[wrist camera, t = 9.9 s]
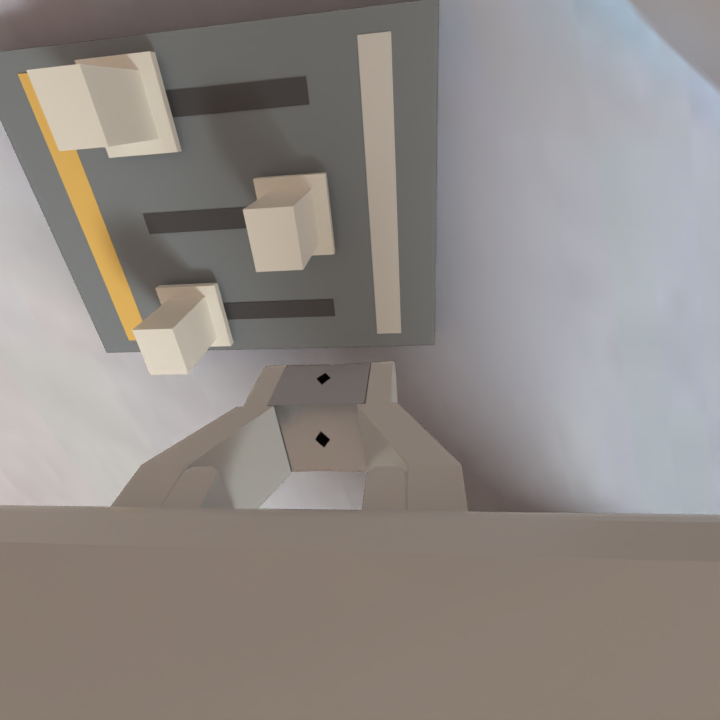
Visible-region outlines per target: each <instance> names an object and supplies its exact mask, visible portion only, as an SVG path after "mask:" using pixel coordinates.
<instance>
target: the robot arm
mask: <svg viewBox="0 0 720 720" xmlns="http://www.w3.org/2000/svg"><path fill="white" fill-rule="evenodd" d="M300 471H357V472H367V476H366V483H365V490H364V498H363V505H362V510H328V509H258V508H259V507H260V506H261V505H262V504H263V503H264V502H265V501H266V500H267V499H268V498H269V497H270V496H271V494H272V493H273V492H274V491H275V490H276V489H277V488H278V487H279V486H280V485H281V484H282V483H283V482H284V481H285V480H286V479H287V478H288V477H289V476H290V475H291V472H300ZM0 720H720V515H703V514H628V513H545V512H470V511H468V506H467V499H466V492H465V484H464V477H463V470H462V465H461V464H460V463H459V462H458V461H457V460H456V459H455V458H454V457H453V456H452V455H451V454H450V453H449V452H448V451H447V450H446V449H445V448H444V447H443V446H442V445H441V444H440V443H439V442H438V441H437V440H435V439H434V438H433V437H432V436H431V435H430V434H429V433H428V432H427V431H426V430H425V429H424V428H423V427H422V426H421V425H420V424H419V423H418V422H417V421H416V420H415V419H414V418H413V417H412V416H411V415H410V414H409V413H408V412H407V411H406V410H405V409H404V408H403V407H401V406H400V405H399V404H398V398H397V383H396V369H395V363H394V361H386V362H373V363H355V364H338V365H289V366H287V365H277V366H267V367H265V368H264V369H263V371H262V373H261V375H260V377H259V378H258V380H257V382H256V384H255V386H254V388H253V389H252V391H251V393H250V395H249V397H248V398H247V400H246V402H245V404H244V406H243V407H236V408H234V409H232V410H231V411H229V412H227V413H226V414H224V415H222V416H221V417H219V418H218V419H216V420H214V421H213V422H211V423H209V424H208V425H206V426H204V427H203V428H201V429H200V430H198V431H196V432H195V433H193V434H191V435H190V436H188V437H186V438H185V439H183V440H181V441H180V442H178V443H177V444H175V445H173V446H172V447H170V448H168V449H167V450H165V451H163V452H162V453H160V454H159V455H157V456H155V457H154V458H152V459H150V460H149V461H147V462H145V463H144V464H142V465H141V466H140V468H139V469H138V470H137V472H136V473H135V474H134V476H133V477H132V478H131V480H130V481H129V482H128V484H127V485H126V486H125V488H124V489H123V491H122V492H121V493H120V495H119V496H118V497H117V499H116V500H115V501H114V503H113V504H112V505H111V507H97V506H25V505H0Z"/></svg>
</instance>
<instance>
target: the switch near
mask: <svg viewBox="0 0 720 720" xmlns="http://www.w3.org/2000/svg"><path fill="white" fill-rule="evenodd" d="M75 63H76V64H74V65H66V66H57V67H48V68H40V69H31V70H26V71H27V73H28V76H29V78H30V81H31V83H32V86H33V88H34V91H35V93H36V96H37V98H38V100H39V103H40V105H41V108H42V110H43V113H44V115H45V118H46V120H47V123H48V125H49V127H50V130H51V132H52V135H53V137H54V140H55V142H56V145H57V147H58V150H59V151H67V150H78V149H90V148H101V147H105V148H106V151H107V153H108V156H109V158H115V157H126V156H138V155H150V154H162V153H173V152H180V151H182V150H181V146H180V143H179V139H178V135H177V132H176V128H175V124H174V121H173V117H172V113H171V110H170V106H169V102H168V98H167V95H166V91H165V87H164V84H163V80H162V76H161V73H160V69H159V65H158V62H157V58H156V54H155V52H151V51H147V52H139V53H130V54H122V55H113V56H104V57H96V58H87V59H79V60H75Z"/></svg>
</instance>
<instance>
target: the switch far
mask: <svg viewBox="0 0 720 720" xmlns="http://www.w3.org/2000/svg"><path fill="white" fill-rule="evenodd" d="M155 289H156V292H157V295H158V297H159V300H160V303H161V306H160V307H159V308H158V309H156V310H155V311H154V312H153V313H152V314H150V315H149V316H148V317H147V318H146V319H144V320H143V321H142V322H141V323H140V324H139V325H137V326H136V327H135V328H134V329H133V330H132V331H133V334H134V336H135V339H136V341H137V344H138V346H139V348H140V351H141V353H142V356H143V358H144V361H145V363H146V366H147V368H148V371H149V373H150V375H165V374H189V373H190V371H191V370H192V369H193V367H194V366H195V365H196V364H197V362H198V361H199V360H200V359H201V357H202V356H203V355H204V354H205V352H206V351H207V350H208V349H209V347H217V346H232V344H233V343H234V342H233V338H232V335H231V331H230V327H229V324H228V320H227V316H226V313H225V309H224V305H223V301H222V298H221V294H220V290H219V287H218V283H198V284H176V285H159V286H157V287H156V288H155Z"/></svg>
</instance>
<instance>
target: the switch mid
mask: <svg viewBox="0 0 720 720" xmlns="http://www.w3.org/2000/svg"><path fill="white" fill-rule="evenodd" d="M253 182H254V187H255V192H256V197H257V200H256V201H255V202H253V203H252V204H250V205H249V206H247V207H246V208H244V209H243V214H244V218H245V223H246V227H247V232H248V237H249V241H250V246H251V250H252V255H253V260H254V264H255V269H256V272H268V271H289V270H303V269H304V268H305V266H306V264H307V263H308V261H309V259H310V258H311V256H313V255H333V254H335V244H334V235H333V226H332V217H331V208H330V199H329V191H328V182H327V173H326V172H322V173H309V174H296V175H283V176H269V177H256V178H254V179H253Z"/></svg>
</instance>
